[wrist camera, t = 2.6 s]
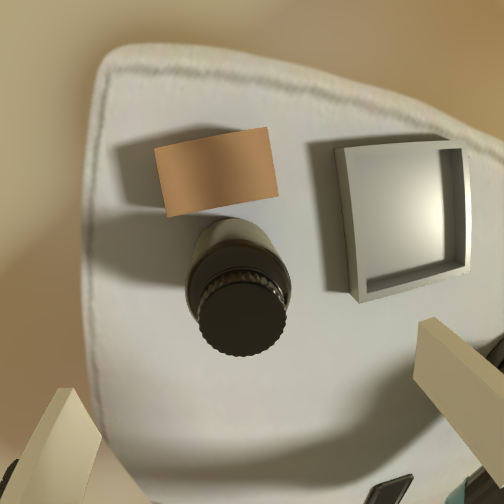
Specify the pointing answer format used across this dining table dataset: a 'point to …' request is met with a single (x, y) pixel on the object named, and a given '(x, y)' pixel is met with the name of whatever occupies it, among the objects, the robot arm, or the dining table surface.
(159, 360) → the dining table surface
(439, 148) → the tray
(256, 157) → the block
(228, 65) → the dining table surface
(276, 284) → the supplement bottle
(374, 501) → the phone
